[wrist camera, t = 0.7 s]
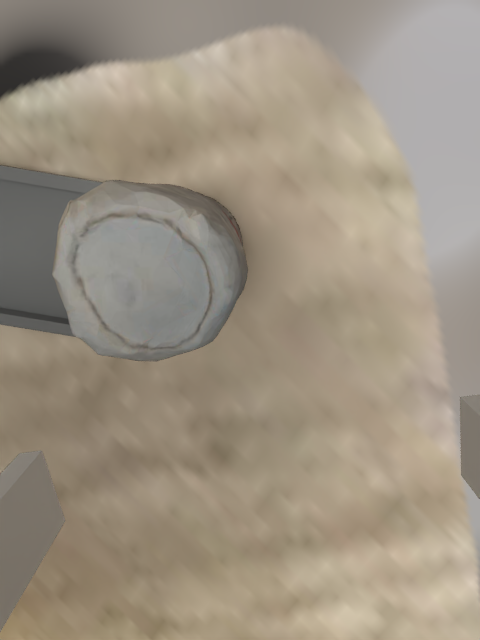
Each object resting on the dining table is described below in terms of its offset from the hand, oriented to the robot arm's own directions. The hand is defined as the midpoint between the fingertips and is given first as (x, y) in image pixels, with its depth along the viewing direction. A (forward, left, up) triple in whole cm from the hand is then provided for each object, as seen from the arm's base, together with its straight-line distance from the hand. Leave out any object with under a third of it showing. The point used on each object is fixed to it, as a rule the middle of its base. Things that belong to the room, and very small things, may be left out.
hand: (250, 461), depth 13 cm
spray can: (-5, +4, -24) cm, 25 cm away
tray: (-19, +1, -24) cm, 31 cm away
